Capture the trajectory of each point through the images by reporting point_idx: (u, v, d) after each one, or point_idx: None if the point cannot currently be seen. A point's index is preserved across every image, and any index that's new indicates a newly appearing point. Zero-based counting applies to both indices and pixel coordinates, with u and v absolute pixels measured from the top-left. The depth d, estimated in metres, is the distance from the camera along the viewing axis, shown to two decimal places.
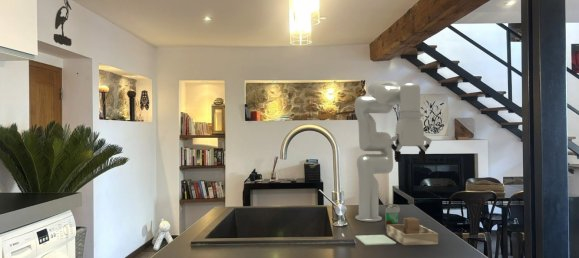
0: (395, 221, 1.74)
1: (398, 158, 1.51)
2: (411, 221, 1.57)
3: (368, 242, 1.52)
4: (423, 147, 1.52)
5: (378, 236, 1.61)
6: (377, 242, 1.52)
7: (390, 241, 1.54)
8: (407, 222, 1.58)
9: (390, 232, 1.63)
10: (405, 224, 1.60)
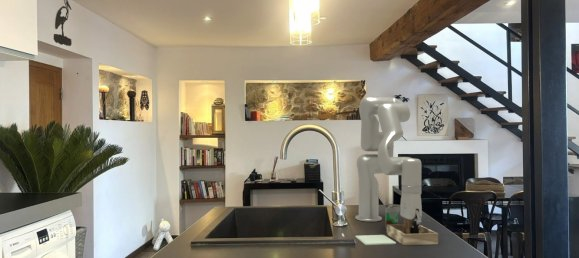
0: (395, 221, 1.74)
1: None
2: None
3: (368, 242, 1.52)
4: None
5: (378, 236, 1.61)
6: (377, 242, 1.52)
7: (390, 241, 1.54)
8: (407, 221, 1.58)
9: (390, 232, 1.63)
10: (405, 224, 1.60)
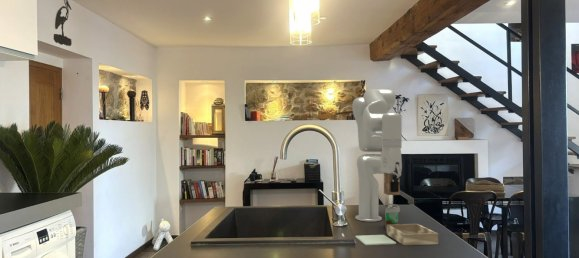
0: (395, 221, 1.74)
1: None
2: None
3: (368, 242, 1.52)
4: None
5: (378, 236, 1.61)
6: (377, 242, 1.52)
7: (390, 241, 1.54)
8: (387, 176, 1.57)
9: (390, 232, 1.63)
10: (385, 179, 1.59)
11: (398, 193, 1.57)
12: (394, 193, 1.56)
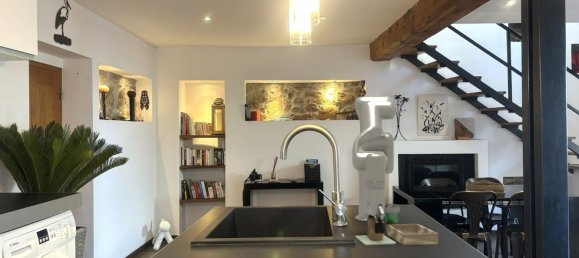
0: (395, 221, 1.74)
1: (382, 229, 1.53)
2: (374, 221, 1.55)
3: (368, 242, 1.52)
4: None
5: None
6: (377, 242, 1.52)
7: (390, 241, 1.54)
8: (370, 221, 1.56)
9: (390, 232, 1.63)
10: (369, 224, 1.58)
11: (381, 239, 1.55)
12: (377, 239, 1.55)
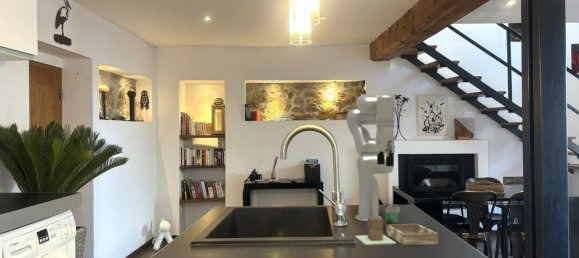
0: (395, 221, 1.74)
1: None
2: (374, 221, 1.55)
3: (368, 242, 1.52)
4: None
5: None
6: (377, 242, 1.52)
7: (390, 241, 1.54)
8: (370, 221, 1.56)
9: (390, 232, 1.63)
10: (369, 224, 1.58)
11: (381, 239, 1.55)
12: (377, 239, 1.55)
